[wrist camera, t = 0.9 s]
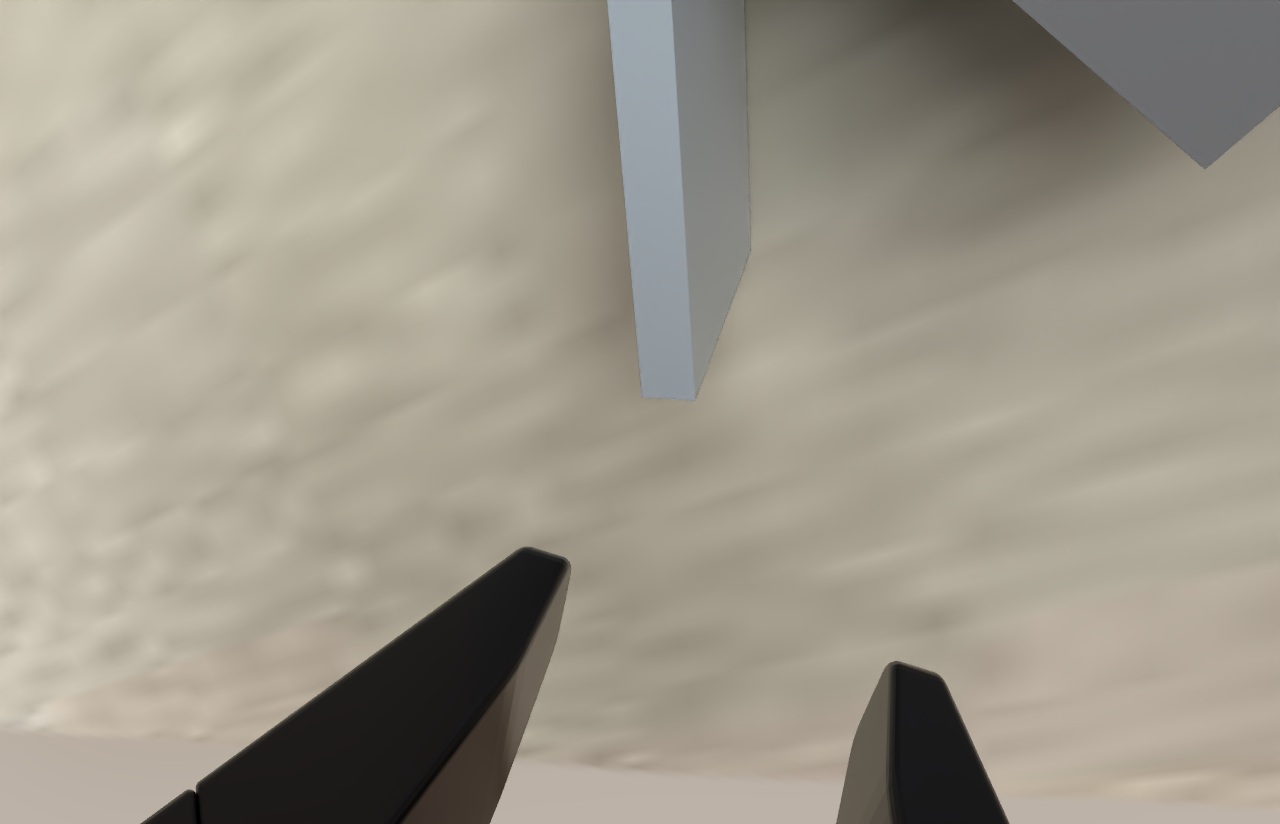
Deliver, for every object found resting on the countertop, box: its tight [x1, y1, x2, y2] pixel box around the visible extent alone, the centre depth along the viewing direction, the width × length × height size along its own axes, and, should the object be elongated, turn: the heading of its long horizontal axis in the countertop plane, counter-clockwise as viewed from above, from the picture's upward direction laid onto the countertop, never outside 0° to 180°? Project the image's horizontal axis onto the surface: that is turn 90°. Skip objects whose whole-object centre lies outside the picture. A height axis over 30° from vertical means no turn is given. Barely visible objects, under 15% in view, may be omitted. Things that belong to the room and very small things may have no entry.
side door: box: [607, 0, 751, 401], centre depth 17 cm, size 1×9×5 cm, turn 4°
